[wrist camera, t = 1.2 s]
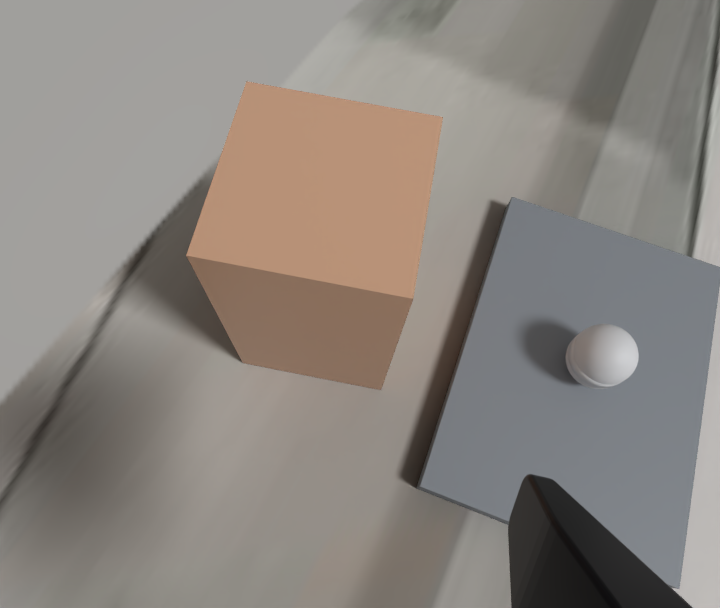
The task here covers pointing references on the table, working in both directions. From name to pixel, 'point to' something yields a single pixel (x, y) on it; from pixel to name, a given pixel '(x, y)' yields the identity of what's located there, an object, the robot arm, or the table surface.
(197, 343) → the table surface
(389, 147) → the cover box
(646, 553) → the post board
